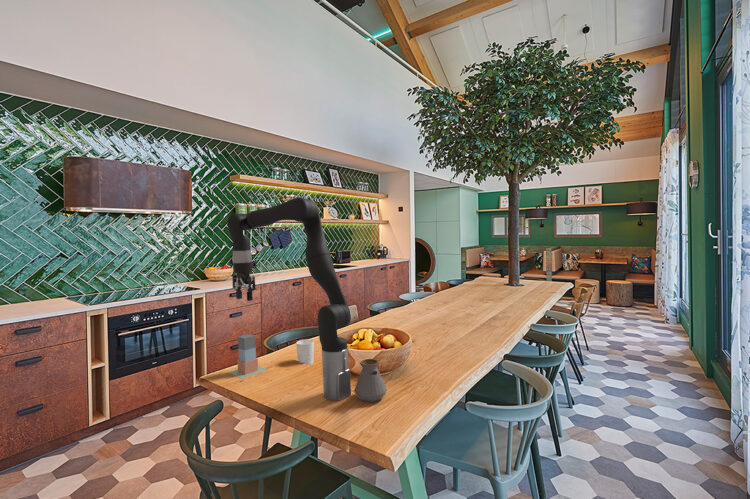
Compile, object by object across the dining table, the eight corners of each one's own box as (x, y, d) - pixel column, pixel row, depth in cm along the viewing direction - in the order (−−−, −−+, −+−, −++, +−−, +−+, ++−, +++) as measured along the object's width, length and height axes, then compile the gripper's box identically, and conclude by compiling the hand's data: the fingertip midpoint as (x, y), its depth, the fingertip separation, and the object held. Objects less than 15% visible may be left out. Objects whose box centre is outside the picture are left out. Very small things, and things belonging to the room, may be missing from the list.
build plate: (268, 373, 157) (268, 369, 157) (242, 382, 148) (242, 378, 148) (253, 367, 165) (253, 363, 165) (227, 375, 156) (227, 372, 155)
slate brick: (255, 347, 156) (254, 335, 156) (244, 350, 152) (244, 338, 152) (249, 345, 159) (248, 333, 159) (238, 348, 155) (237, 336, 155)
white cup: (293, 365, 165) (292, 343, 165) (304, 359, 172) (303, 338, 172) (307, 367, 162) (306, 345, 161) (318, 361, 169) (317, 340, 168)
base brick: (258, 370, 156) (257, 358, 156) (245, 374, 152) (244, 362, 152) (250, 367, 160) (250, 356, 160) (237, 371, 156) (237, 359, 156)
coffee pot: (353, 392, 136) (351, 352, 135) (383, 388, 137) (382, 349, 137) (359, 421, 115) (358, 374, 114) (395, 417, 116) (394, 370, 116)
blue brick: (256, 358, 156) (255, 347, 156) (245, 362, 152) (244, 350, 152) (249, 356, 159) (249, 345, 159) (239, 359, 156) (238, 348, 155)
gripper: (259, 261, 152) (261, 299, 153) (241, 260, 161) (243, 296, 162) (243, 262, 146) (245, 302, 147) (225, 261, 156) (227, 299, 156)
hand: (244, 299), depth 155 cm, fingers open, 8 cm apart
